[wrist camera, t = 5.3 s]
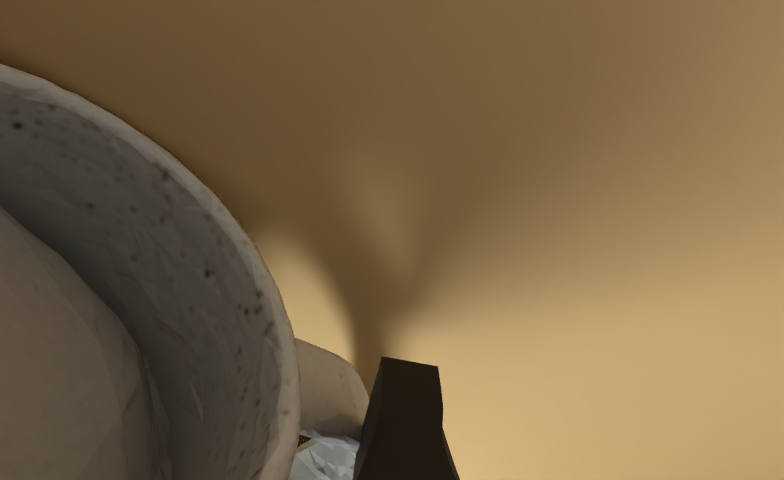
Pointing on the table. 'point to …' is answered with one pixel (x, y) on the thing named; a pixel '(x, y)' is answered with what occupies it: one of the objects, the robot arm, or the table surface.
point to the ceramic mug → (145, 317)
